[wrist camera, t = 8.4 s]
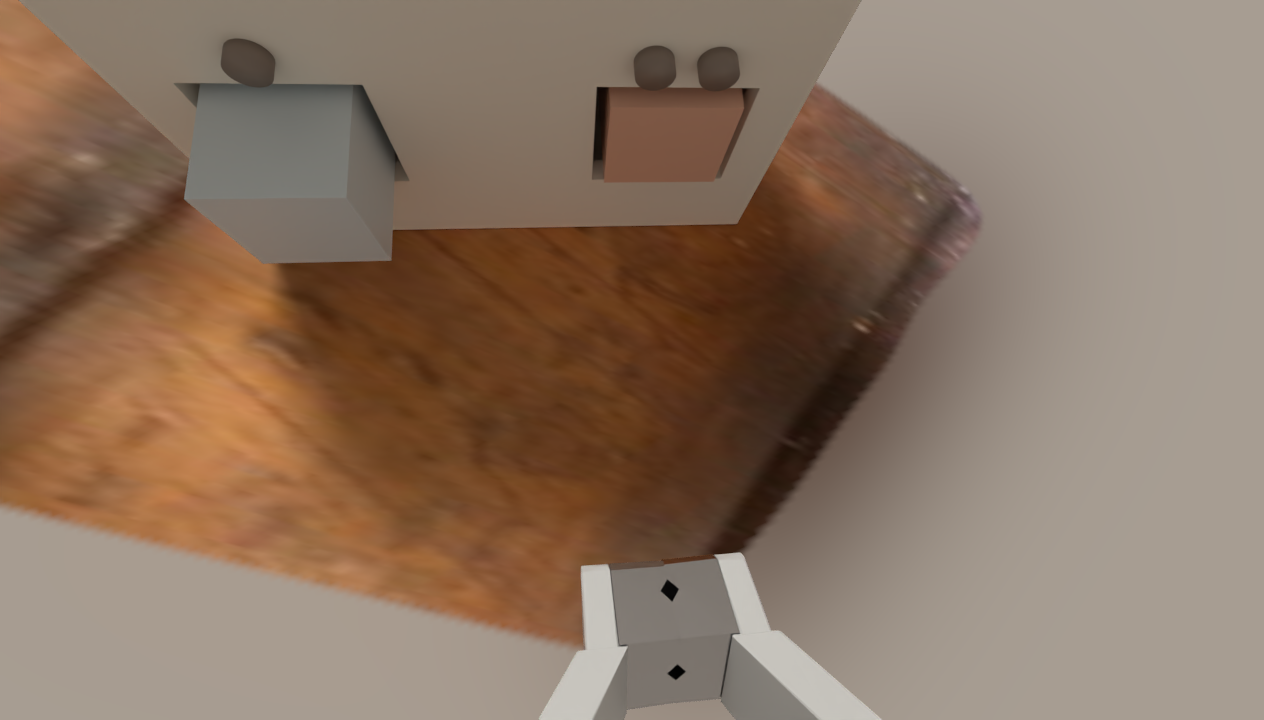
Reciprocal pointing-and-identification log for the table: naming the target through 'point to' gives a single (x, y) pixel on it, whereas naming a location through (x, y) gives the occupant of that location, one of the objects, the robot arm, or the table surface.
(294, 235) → the button one
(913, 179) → the table surface
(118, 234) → the table surface
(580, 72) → the block
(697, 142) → the button two
